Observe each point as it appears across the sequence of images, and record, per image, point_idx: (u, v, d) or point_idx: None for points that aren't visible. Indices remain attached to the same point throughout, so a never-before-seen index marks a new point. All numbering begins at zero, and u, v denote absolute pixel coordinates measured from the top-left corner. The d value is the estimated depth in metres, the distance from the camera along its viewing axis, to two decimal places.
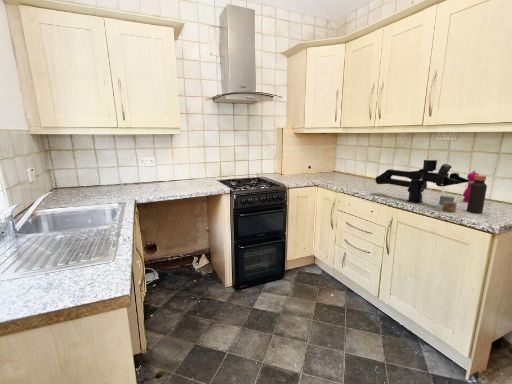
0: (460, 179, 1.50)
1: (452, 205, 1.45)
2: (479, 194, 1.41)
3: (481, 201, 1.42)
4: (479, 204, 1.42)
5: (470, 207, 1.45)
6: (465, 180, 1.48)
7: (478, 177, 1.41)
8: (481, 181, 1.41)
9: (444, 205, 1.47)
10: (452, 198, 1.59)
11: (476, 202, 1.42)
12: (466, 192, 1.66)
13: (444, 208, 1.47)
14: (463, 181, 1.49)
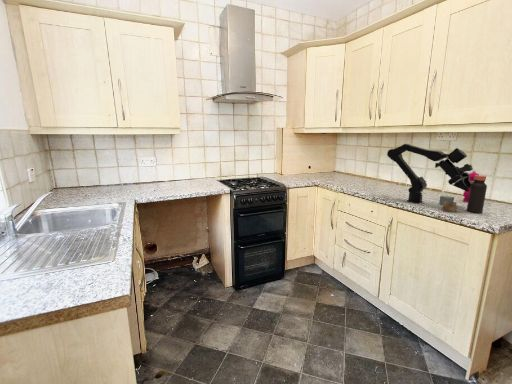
0: (467, 183, 1.51)
1: (452, 205, 1.45)
2: (479, 194, 1.41)
3: (481, 201, 1.42)
4: (479, 204, 1.42)
5: (470, 207, 1.45)
6: None
7: (478, 177, 1.41)
8: (481, 181, 1.41)
9: (444, 205, 1.47)
10: (452, 198, 1.59)
11: (476, 202, 1.42)
12: (466, 192, 1.66)
13: (444, 208, 1.47)
14: (468, 186, 1.50)
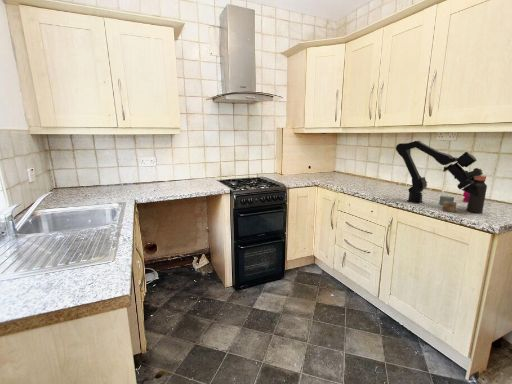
0: None
1: (452, 205, 1.45)
2: (479, 194, 1.41)
3: (481, 201, 1.42)
4: (479, 204, 1.42)
5: (470, 207, 1.45)
6: None
7: (478, 177, 1.41)
8: (481, 181, 1.41)
9: (444, 205, 1.47)
10: (452, 198, 1.59)
11: (476, 202, 1.42)
12: (466, 192, 1.66)
13: (444, 208, 1.47)
14: None
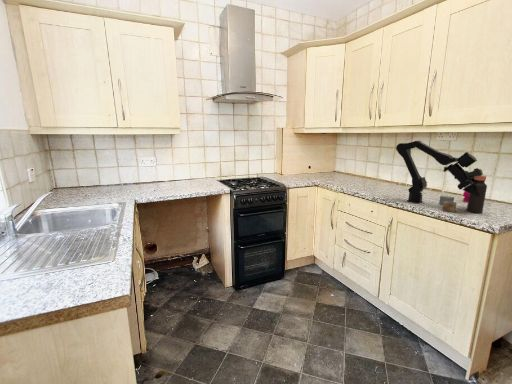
0: None
1: (452, 205, 1.45)
2: (479, 194, 1.41)
3: (481, 201, 1.42)
4: (479, 204, 1.42)
5: (470, 207, 1.45)
6: None
7: (478, 177, 1.41)
8: (481, 181, 1.41)
9: (444, 205, 1.47)
10: (452, 198, 1.59)
11: (476, 202, 1.42)
12: (466, 192, 1.66)
13: (444, 208, 1.47)
14: None
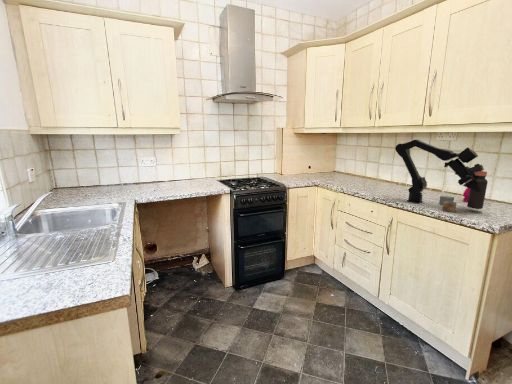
0: None
1: (452, 205, 1.45)
2: (480, 189, 1.41)
3: (481, 197, 1.41)
4: (479, 200, 1.42)
5: (470, 203, 1.45)
6: None
7: (479, 173, 1.40)
8: (482, 177, 1.40)
9: (444, 205, 1.47)
10: (452, 198, 1.59)
11: (477, 197, 1.42)
12: (466, 192, 1.66)
13: (444, 208, 1.47)
14: None
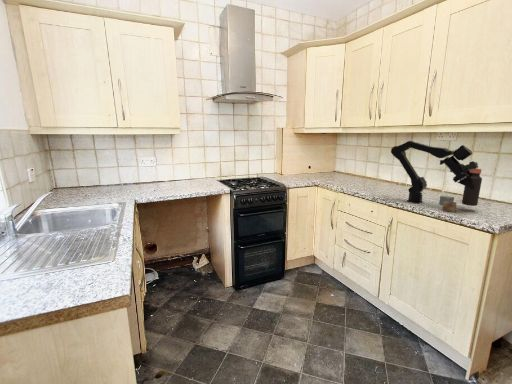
0: None
1: (452, 205, 1.45)
2: (474, 186, 1.42)
3: (476, 194, 1.43)
4: (474, 197, 1.43)
5: (465, 200, 1.46)
6: None
7: (473, 170, 1.42)
8: (476, 174, 1.42)
9: (444, 205, 1.47)
10: (452, 198, 1.59)
11: (471, 194, 1.43)
12: None
13: (444, 208, 1.47)
14: None
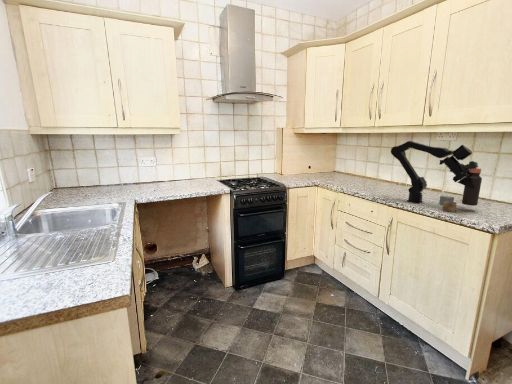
0: None
1: (452, 205, 1.45)
2: (474, 186, 1.42)
3: (476, 193, 1.43)
4: (474, 197, 1.43)
5: (465, 199, 1.46)
6: None
7: (473, 170, 1.42)
8: (476, 174, 1.42)
9: (444, 205, 1.47)
10: (452, 198, 1.59)
11: (471, 194, 1.43)
12: None
13: (444, 208, 1.47)
14: None
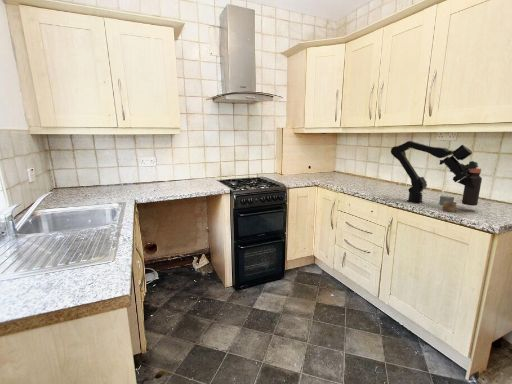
0: None
1: (452, 205, 1.45)
2: (474, 186, 1.42)
3: (476, 193, 1.43)
4: (474, 197, 1.43)
5: (465, 199, 1.46)
6: None
7: (473, 170, 1.42)
8: (476, 174, 1.42)
9: (444, 205, 1.47)
10: (452, 198, 1.59)
11: (471, 194, 1.43)
12: None
13: (444, 208, 1.47)
14: None
